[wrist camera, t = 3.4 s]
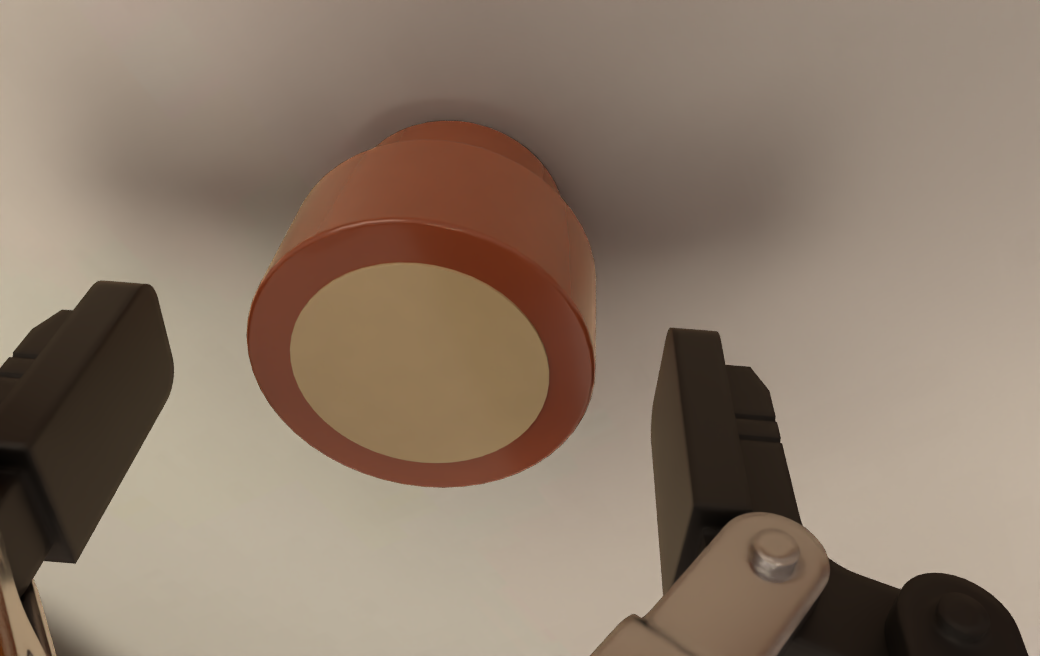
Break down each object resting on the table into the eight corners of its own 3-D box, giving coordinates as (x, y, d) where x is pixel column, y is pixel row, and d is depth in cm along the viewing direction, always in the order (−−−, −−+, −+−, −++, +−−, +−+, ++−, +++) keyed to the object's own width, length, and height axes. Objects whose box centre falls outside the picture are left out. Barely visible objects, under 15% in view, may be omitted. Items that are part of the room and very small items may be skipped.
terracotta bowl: (611, 99, 15) (615, 237, 12) (582, 339, 19) (578, 504, 15) (305, 75, 15) (217, 205, 12) (330, 318, 19) (267, 477, 15)
